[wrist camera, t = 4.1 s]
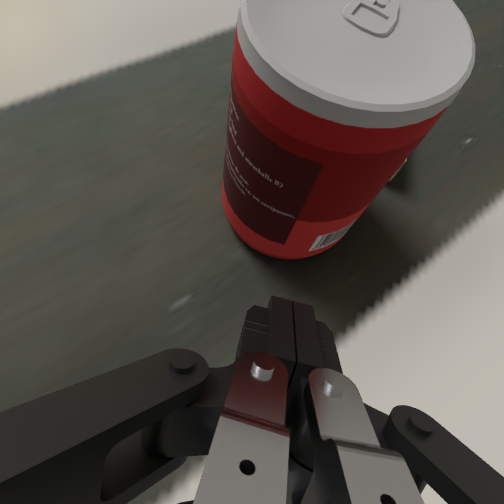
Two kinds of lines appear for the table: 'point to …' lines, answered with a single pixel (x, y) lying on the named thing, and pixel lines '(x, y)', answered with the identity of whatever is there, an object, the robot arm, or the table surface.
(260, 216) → the canned food
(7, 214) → the table surface
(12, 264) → the table surface
